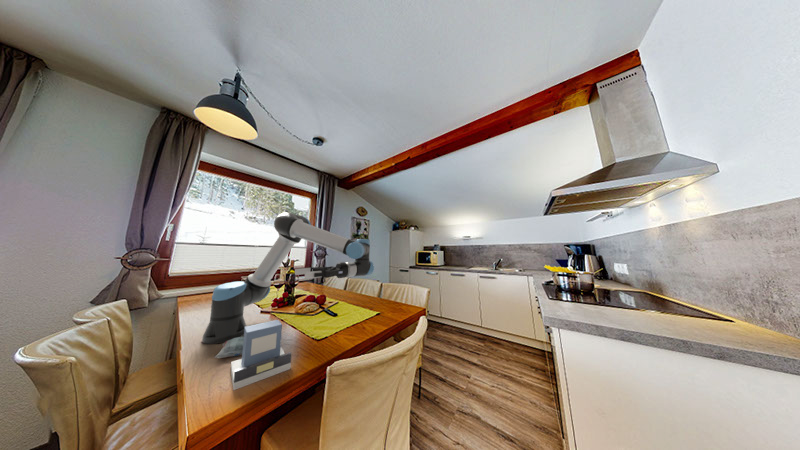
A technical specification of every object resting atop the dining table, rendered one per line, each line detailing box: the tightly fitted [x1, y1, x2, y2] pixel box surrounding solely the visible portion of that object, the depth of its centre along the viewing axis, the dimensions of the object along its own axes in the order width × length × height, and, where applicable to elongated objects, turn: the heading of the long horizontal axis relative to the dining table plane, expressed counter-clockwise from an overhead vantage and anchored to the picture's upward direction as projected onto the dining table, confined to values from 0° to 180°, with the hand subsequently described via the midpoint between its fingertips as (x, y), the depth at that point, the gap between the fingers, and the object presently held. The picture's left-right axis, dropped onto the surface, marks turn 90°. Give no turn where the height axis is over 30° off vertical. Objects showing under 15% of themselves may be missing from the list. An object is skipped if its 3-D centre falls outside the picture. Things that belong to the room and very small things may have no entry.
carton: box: [241, 319, 283, 368], centre depth 68 cm, size 6×10×12 cm, turn 134°
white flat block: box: [230, 347, 292, 391], centre depth 67 cm, size 14×15×5 cm
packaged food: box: [214, 336, 244, 359], centre depth 77 cm, size 9×12×5 cm
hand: (299, 273), depth 84 cm, fingers open, 13 cm apart
